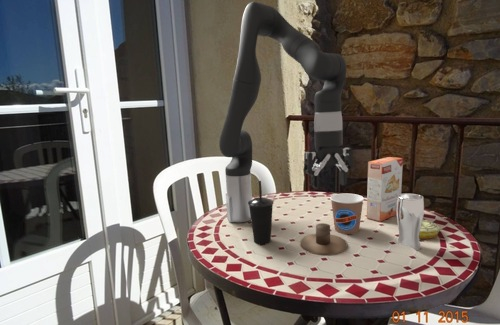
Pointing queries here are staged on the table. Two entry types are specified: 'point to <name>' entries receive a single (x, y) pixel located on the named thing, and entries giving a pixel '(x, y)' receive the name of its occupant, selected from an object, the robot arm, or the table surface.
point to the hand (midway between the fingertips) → (329, 186)
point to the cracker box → (383, 187)
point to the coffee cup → (347, 212)
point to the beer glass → (410, 219)
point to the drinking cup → (261, 218)
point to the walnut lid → (323, 242)
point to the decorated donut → (428, 230)
